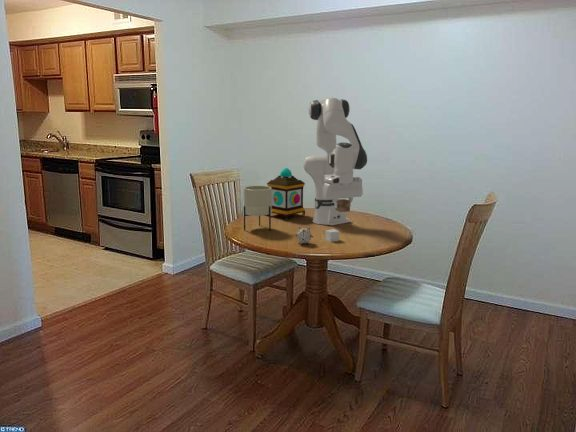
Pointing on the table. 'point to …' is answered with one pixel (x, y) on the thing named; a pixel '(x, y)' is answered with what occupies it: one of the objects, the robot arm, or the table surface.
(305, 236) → the game die
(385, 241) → the table surface
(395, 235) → the table surface
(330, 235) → the grey block
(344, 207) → the walnut block
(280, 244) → the table surface
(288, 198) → the decorative lantern
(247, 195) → the planter
